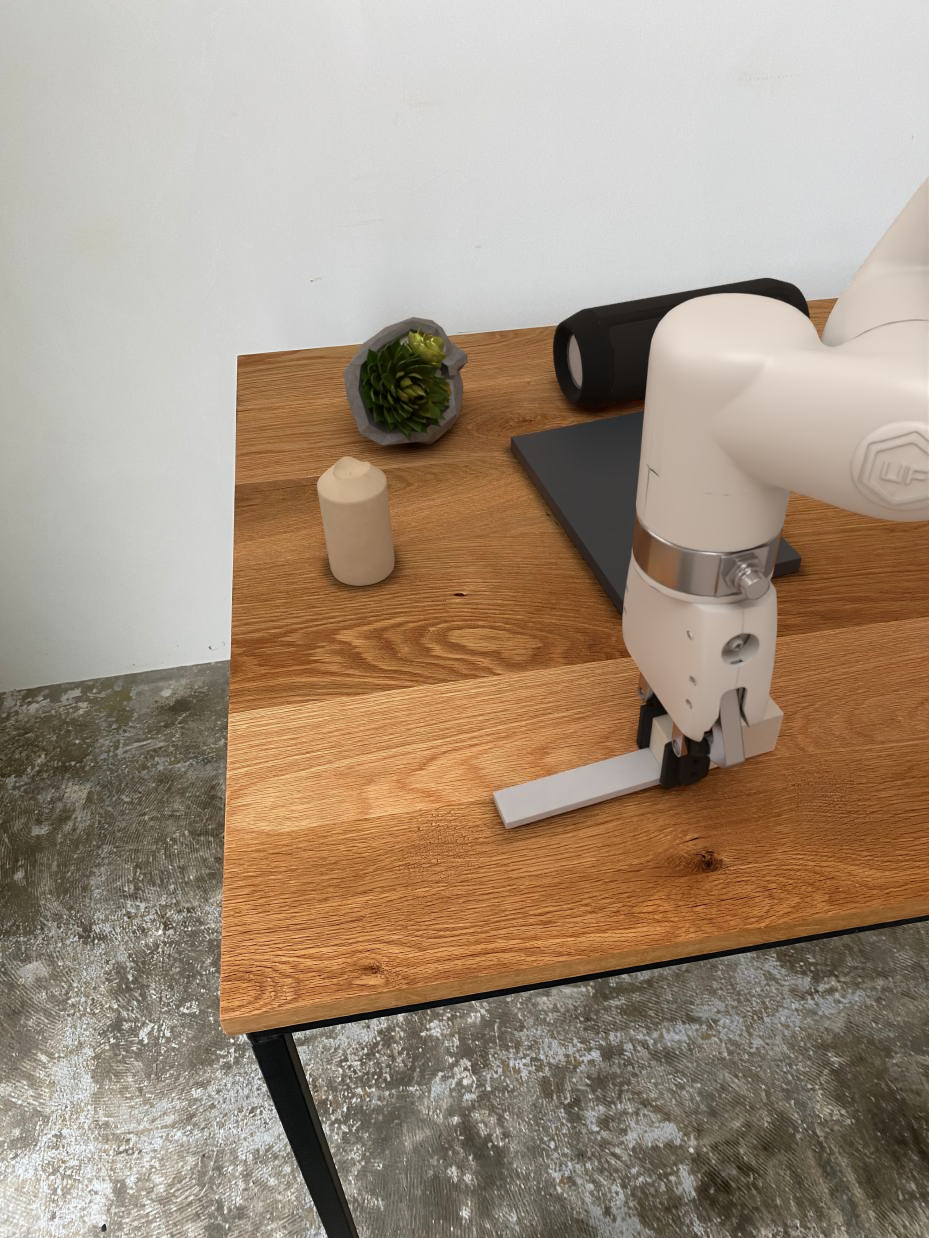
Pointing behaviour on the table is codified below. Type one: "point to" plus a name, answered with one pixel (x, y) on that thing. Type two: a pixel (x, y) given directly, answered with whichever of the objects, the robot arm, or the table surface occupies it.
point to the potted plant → (406, 383)
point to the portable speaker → (631, 341)
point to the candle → (356, 522)
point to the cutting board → (600, 492)
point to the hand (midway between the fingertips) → (671, 759)
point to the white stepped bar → (615, 774)
